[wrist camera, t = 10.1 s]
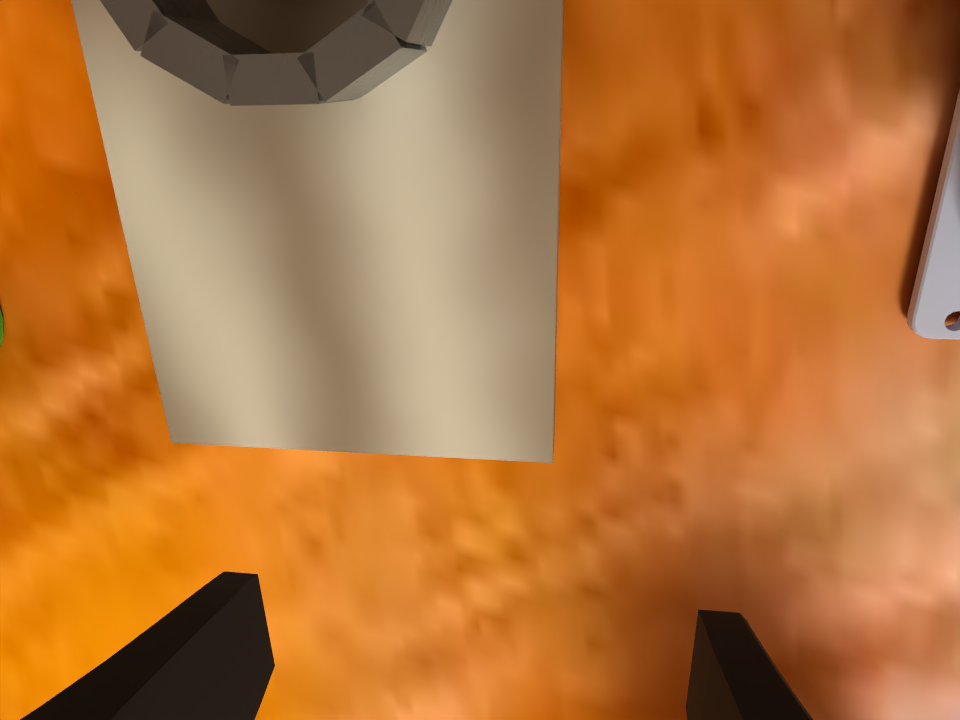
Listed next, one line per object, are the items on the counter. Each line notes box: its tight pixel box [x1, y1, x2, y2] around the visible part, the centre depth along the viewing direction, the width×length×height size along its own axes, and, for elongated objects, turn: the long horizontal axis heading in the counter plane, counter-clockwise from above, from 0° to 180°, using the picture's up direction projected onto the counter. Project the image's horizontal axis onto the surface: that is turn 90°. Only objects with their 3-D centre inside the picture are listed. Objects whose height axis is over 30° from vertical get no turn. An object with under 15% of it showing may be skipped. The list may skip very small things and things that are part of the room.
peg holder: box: [71, 0, 564, 463], centre depth 16 cm, size 12×22×4 cm, turn 1°
